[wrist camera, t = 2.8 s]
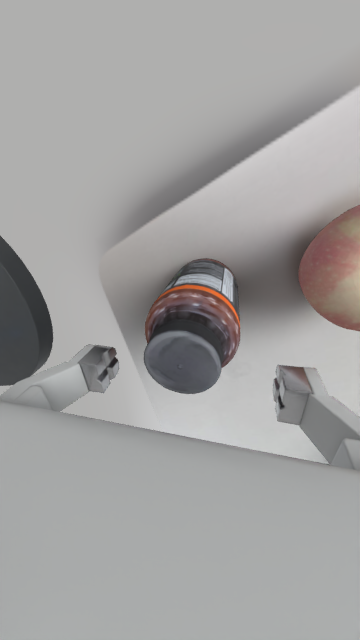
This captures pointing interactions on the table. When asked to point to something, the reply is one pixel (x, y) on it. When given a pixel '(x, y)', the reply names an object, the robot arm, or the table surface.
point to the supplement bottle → (193, 327)
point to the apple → (335, 271)
